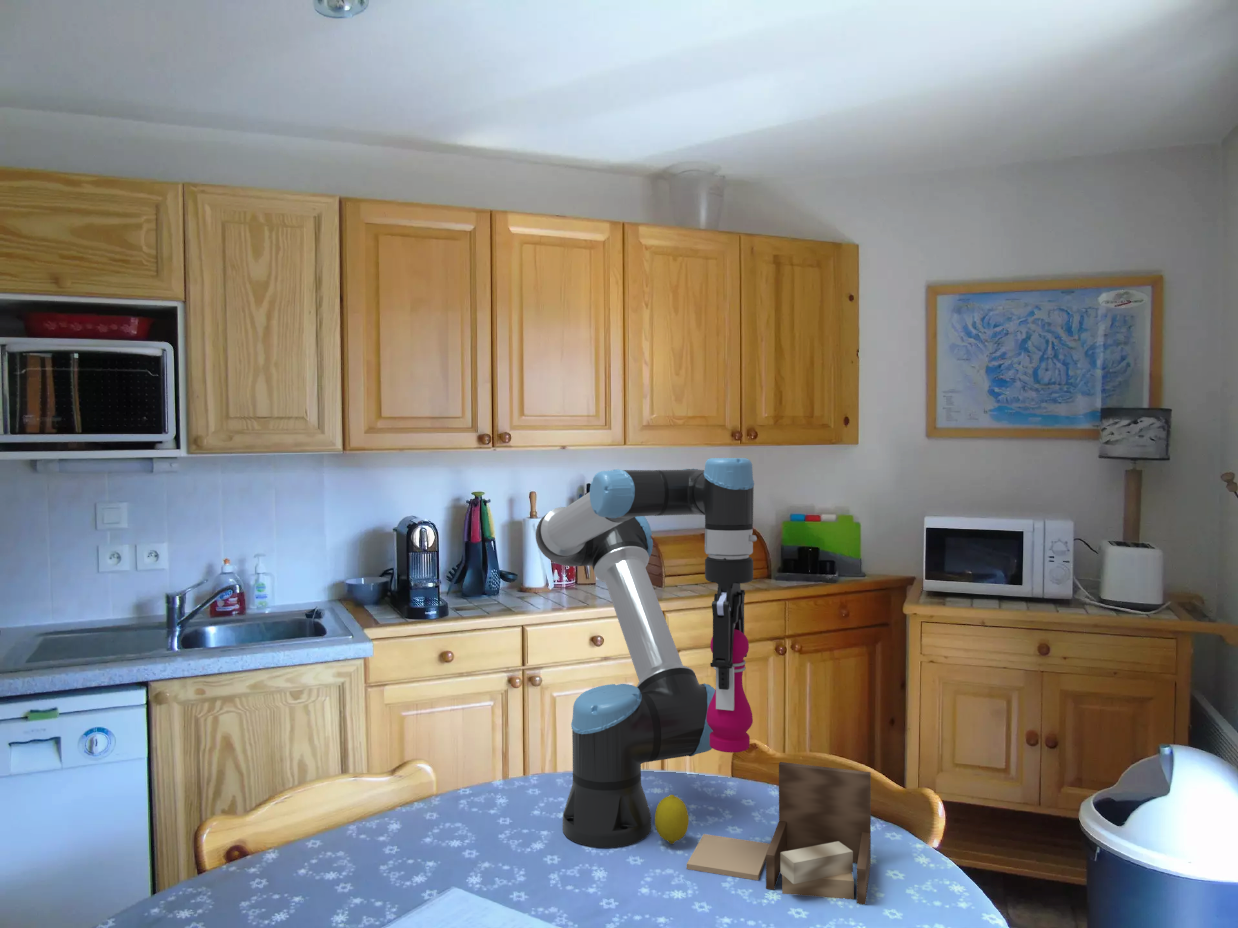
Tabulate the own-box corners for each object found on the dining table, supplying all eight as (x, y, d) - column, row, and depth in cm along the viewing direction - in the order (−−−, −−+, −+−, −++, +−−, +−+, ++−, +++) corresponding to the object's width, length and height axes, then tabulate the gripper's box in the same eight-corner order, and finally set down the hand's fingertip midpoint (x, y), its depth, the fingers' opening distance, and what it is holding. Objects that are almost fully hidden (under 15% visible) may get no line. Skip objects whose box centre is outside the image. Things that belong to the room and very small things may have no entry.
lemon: (693, 839, 140) (693, 791, 140) (681, 854, 135) (681, 803, 135) (662, 833, 142) (662, 786, 142) (649, 847, 137) (649, 798, 137)
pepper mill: (712, 736, 138) (712, 613, 138) (756, 741, 136) (756, 616, 136) (701, 750, 131) (701, 621, 131) (748, 756, 129) (748, 624, 129)
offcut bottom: (782, 895, 123) (782, 875, 123) (781, 883, 126) (781, 863, 126) (853, 901, 121) (853, 880, 121) (851, 889, 125) (851, 869, 125)
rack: (766, 888, 124) (765, 792, 124) (780, 848, 137) (779, 761, 137) (865, 904, 120) (865, 805, 119) (870, 861, 132) (870, 772, 132)
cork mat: (686, 868, 130) (686, 863, 130) (703, 838, 141) (703, 833, 141) (758, 880, 127) (758, 874, 127) (770, 848, 137) (770, 843, 137)
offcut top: (793, 883, 120) (793, 862, 120) (780, 872, 124) (780, 852, 124) (852, 871, 124) (852, 851, 124) (838, 860, 127) (838, 840, 127)
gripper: (741, 563, 123) (741, 723, 124) (763, 550, 141) (763, 690, 141) (691, 561, 126) (691, 718, 126) (718, 549, 143) (718, 686, 143)
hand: (729, 703), depth 133 cm, fingers closed on pepper mill, 5 cm apart
